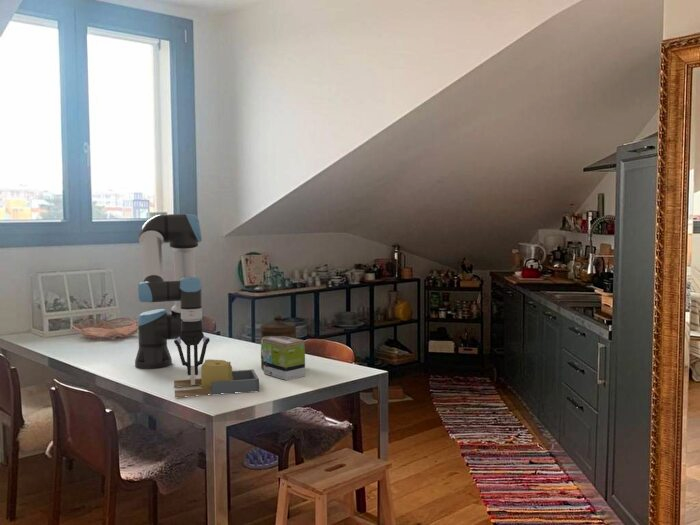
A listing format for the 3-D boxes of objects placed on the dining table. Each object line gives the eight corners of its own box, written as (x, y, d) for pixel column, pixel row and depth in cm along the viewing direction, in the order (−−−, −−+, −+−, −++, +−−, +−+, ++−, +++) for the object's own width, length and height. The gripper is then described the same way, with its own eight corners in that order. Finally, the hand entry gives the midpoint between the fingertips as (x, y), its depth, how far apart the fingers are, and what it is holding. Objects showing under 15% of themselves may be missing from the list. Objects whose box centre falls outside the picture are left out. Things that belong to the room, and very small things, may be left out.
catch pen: (208, 384, 268) (208, 372, 267) (253, 381, 272) (253, 369, 272) (211, 395, 252) (211, 382, 252) (259, 391, 257) (258, 379, 256)
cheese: (233, 384, 266) (232, 358, 266) (229, 392, 256) (228, 365, 255) (205, 385, 266) (204, 359, 265) (200, 393, 255) (199, 365, 254)
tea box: (262, 374, 282) (261, 338, 281) (282, 370, 289) (281, 334, 288) (286, 381, 272) (285, 343, 270) (306, 376, 278) (305, 339, 277)
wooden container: (256, 371, 288) (255, 317, 286) (267, 363, 303) (266, 312, 301) (291, 372, 285) (291, 318, 284) (300, 364, 300) (299, 312, 298)
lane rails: (174, 386, 264) (173, 380, 264) (208, 384, 268) (207, 377, 267) (174, 397, 249) (174, 391, 249) (210, 395, 252) (210, 388, 252)
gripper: (173, 322, 251) (174, 387, 253) (210, 320, 254) (211, 385, 256) (172, 319, 258) (174, 382, 260) (209, 317, 261) (210, 380, 263)
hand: (192, 383), depth 258 cm, fingers closed
